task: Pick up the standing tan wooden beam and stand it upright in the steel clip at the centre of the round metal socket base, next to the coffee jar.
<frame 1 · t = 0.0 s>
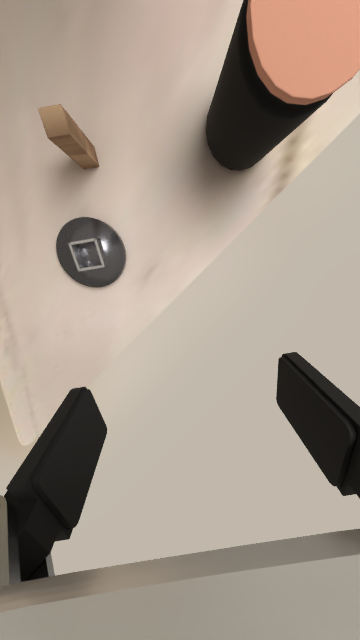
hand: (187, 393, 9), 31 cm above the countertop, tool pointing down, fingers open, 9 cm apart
coffee jar: (237, 132, 30), on the countertop
round metal socket base: (93, 254, 36), on the countertop
tan wooden beam: (89, 158, 30), on the countertop
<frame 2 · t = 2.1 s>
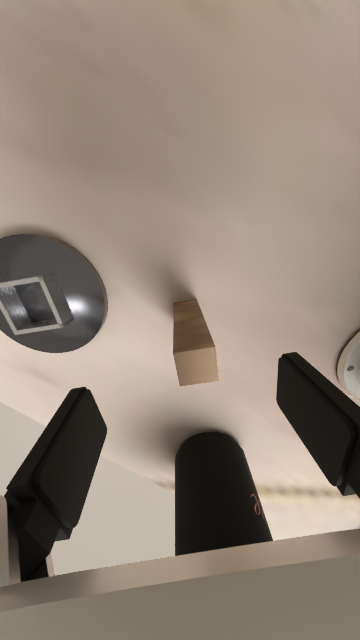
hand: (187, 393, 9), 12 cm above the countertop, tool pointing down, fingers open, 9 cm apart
coffee jar: (208, 451, 30), on the countertop
round metal socket base: (49, 297, 20), on the countertop
tan wooden beam: (186, 312, 21), on the countertop
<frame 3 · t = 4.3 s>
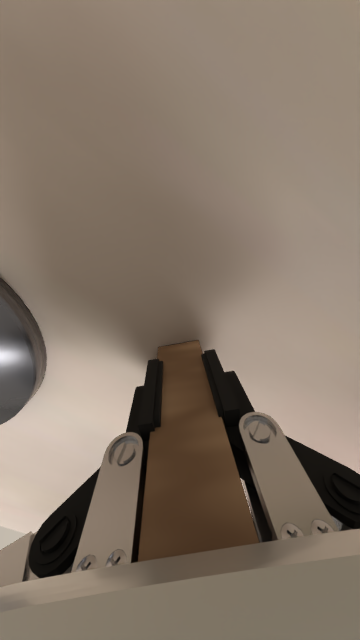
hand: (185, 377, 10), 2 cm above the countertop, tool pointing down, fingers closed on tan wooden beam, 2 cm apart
tan wooden beam: (181, 360, 12), on the countertop, touching gripper
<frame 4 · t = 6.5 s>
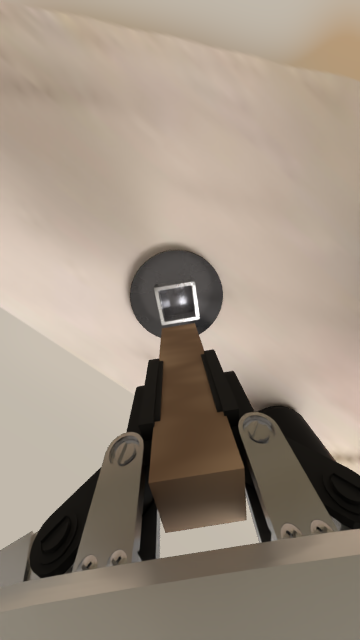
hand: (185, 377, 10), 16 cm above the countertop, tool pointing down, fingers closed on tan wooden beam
coffee jar: (271, 423, 37), on the countertop
round metal socket base: (176, 297, 26), on the countertop
tan wooden beam: (180, 340, 15), point 12 cm above the countertop, touching gripper
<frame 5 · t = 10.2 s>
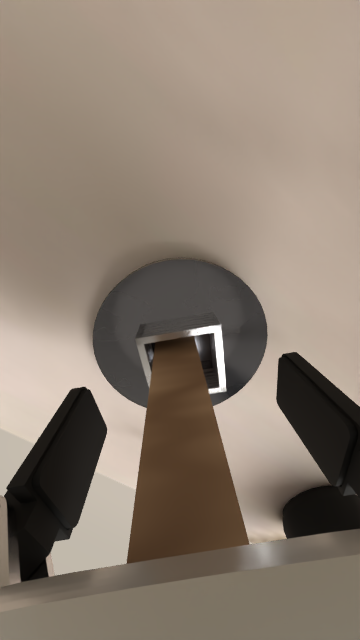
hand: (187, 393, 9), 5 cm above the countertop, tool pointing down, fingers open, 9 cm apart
coffee jar: (316, 504, 25), on the countertop
round metal socket base: (181, 341, 14), on the countertop
tan wooden beam: (177, 350, 13), point 1 cm above the countertop, touching round metal socket base
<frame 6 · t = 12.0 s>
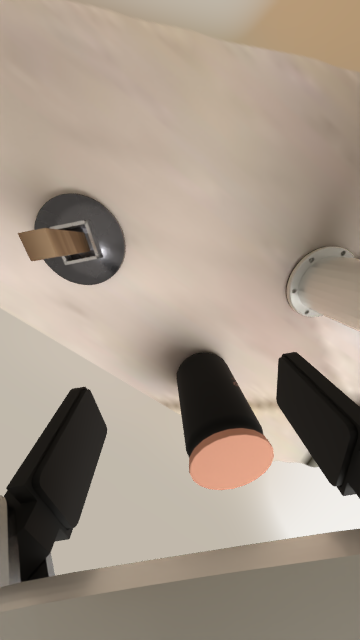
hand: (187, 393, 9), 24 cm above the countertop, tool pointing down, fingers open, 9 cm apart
coffee jar: (201, 371, 40), on the countertop
round metal socket base: (84, 243, 28), on the countertop
tan wooden beam: (78, 243, 27), point 1 cm above the countertop, touching round metal socket base
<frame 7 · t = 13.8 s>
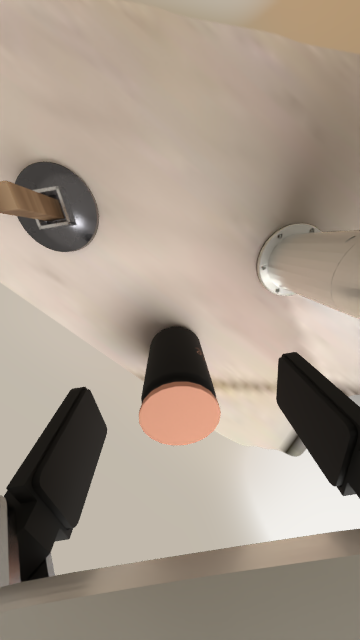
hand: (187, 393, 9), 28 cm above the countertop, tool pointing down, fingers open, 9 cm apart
coffee jar: (175, 346, 41), on the countertop
round metal socket base: (59, 211, 30), on the countertop
tan wooden beam: (53, 210, 29), point 1 cm above the countertop, touching round metal socket base
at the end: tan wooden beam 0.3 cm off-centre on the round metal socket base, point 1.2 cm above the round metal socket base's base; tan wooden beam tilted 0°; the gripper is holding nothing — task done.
